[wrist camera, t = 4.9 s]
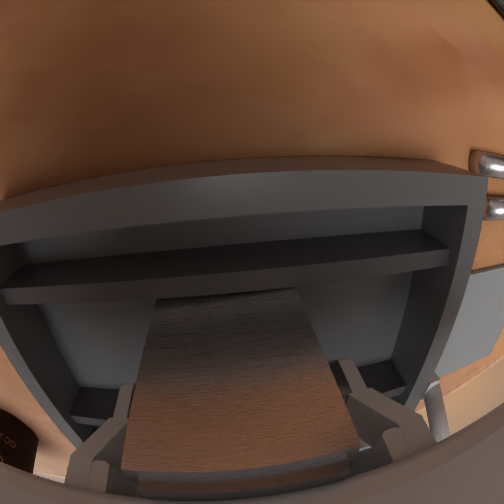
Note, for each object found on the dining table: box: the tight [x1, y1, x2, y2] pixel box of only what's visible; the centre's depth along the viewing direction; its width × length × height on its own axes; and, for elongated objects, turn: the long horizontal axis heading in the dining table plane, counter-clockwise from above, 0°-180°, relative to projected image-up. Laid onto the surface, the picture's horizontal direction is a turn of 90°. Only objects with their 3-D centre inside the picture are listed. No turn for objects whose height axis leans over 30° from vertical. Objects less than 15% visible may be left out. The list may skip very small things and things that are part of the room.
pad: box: [435, 264, 504, 377], centre depth 18 cm, size 10×10×1 cm
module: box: [121, 287, 362, 501], centre depth 9 cm, size 5×5×7 cm
